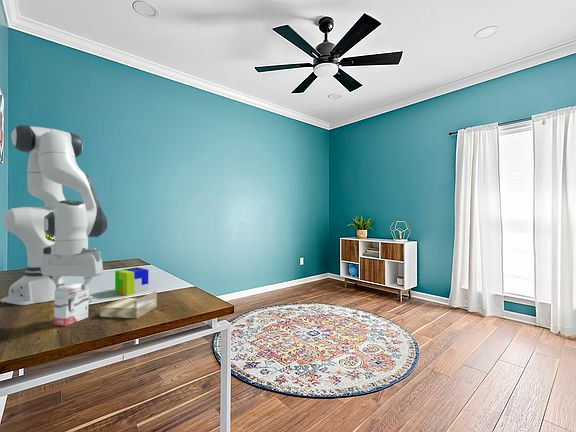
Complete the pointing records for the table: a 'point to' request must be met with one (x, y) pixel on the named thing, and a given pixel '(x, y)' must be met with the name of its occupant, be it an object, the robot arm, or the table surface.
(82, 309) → the ink box
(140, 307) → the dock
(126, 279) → the puzzle toy
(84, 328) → the table surface
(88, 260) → the robot arm
